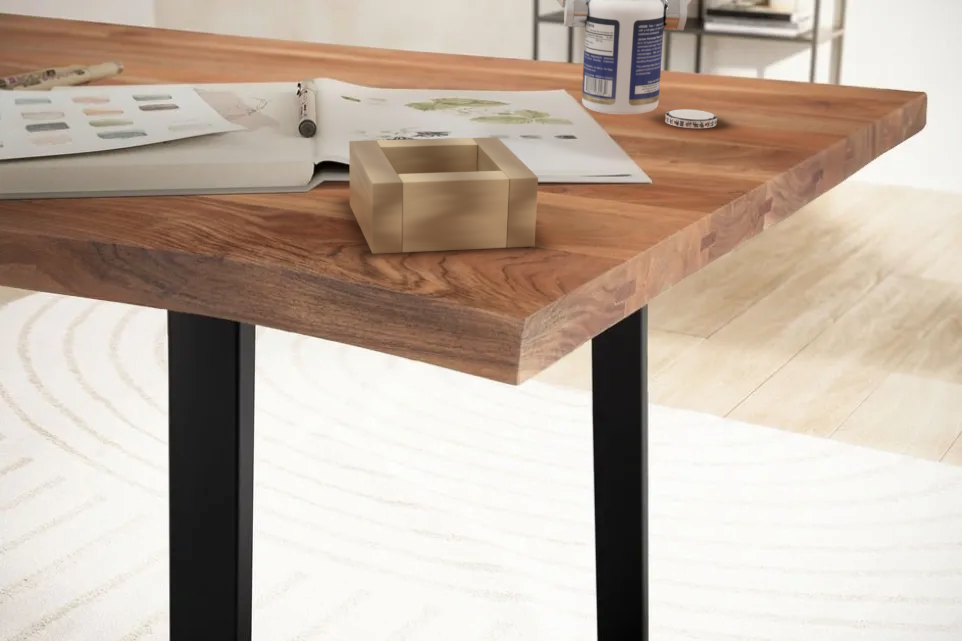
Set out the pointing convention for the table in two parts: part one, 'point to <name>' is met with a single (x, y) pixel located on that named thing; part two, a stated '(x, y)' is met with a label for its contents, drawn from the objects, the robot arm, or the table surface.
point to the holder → (441, 194)
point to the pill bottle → (622, 56)
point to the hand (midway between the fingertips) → (626, 23)
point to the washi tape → (690, 118)
